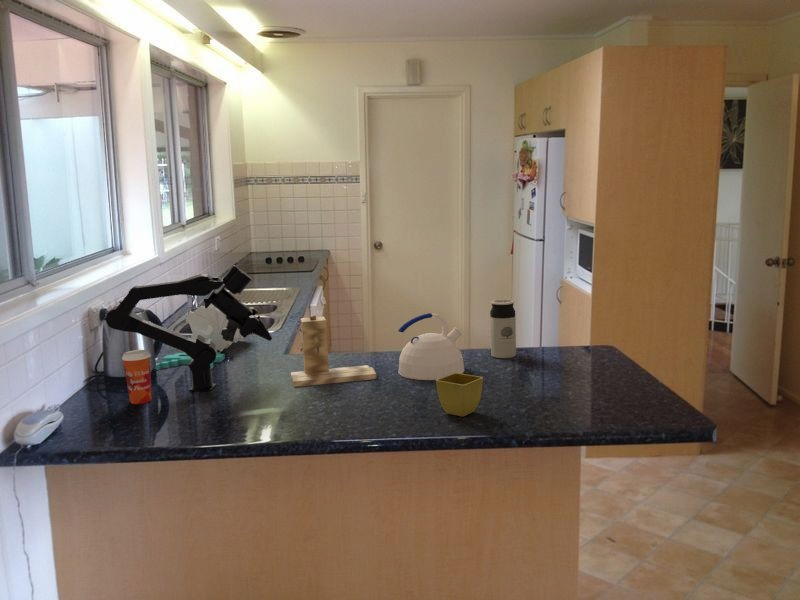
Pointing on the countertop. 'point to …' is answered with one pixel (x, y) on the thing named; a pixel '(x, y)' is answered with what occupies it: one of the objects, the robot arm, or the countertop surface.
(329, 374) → the board
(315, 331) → the tan wooden tall block
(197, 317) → the spiral staircase
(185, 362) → the alien figure
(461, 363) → the kettle
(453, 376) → the flower pot
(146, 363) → the paper cup
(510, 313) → the travel mug
